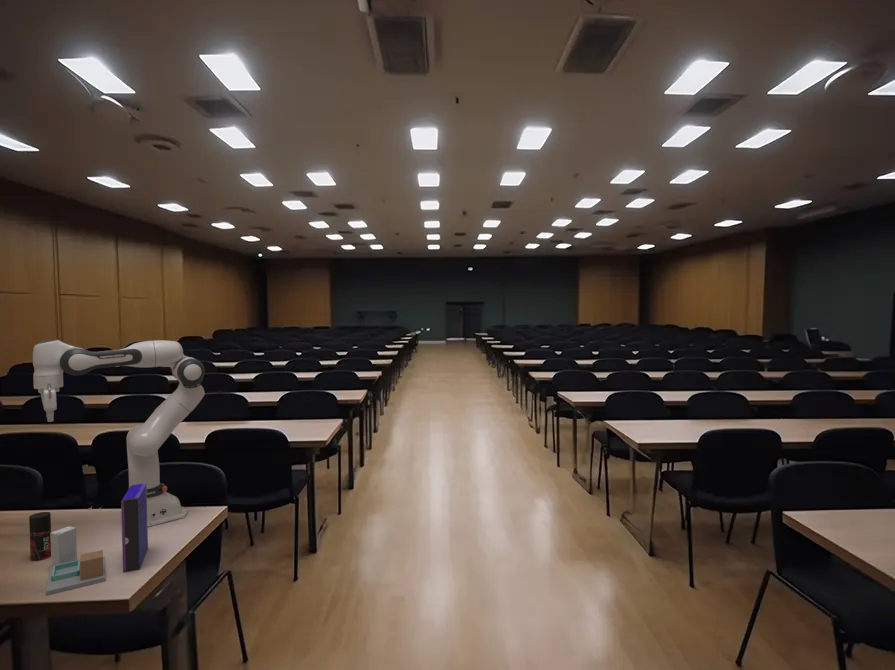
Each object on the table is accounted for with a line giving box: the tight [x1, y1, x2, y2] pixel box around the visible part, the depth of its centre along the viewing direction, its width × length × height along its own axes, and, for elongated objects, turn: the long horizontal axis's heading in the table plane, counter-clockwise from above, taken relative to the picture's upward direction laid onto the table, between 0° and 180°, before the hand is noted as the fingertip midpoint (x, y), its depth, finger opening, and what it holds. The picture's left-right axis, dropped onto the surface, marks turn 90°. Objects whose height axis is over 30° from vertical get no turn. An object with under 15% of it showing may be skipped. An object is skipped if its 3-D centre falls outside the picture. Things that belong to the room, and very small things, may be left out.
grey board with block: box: [45, 549, 106, 596], centre depth 170 cm, size 15×18×7 cm
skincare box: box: [50, 526, 78, 568], centre depth 178 cm, size 6×4×12 cm
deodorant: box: [28, 511, 52, 562], centre depth 183 cm, size 6×6×15 cm
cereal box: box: [120, 484, 149, 573], centre depth 181 cm, size 17×5×24 cm, turn 22°
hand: (49, 419), depth 196 cm, fingers open, 8 cm apart
